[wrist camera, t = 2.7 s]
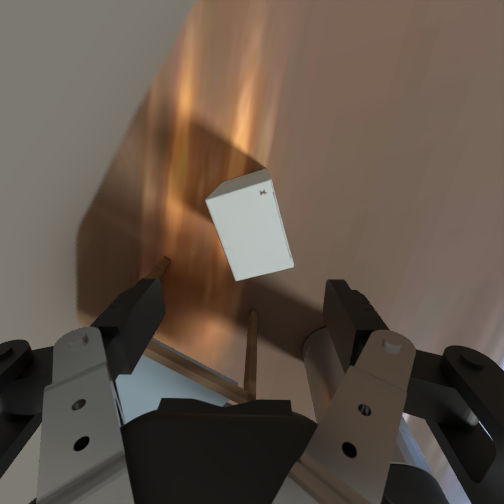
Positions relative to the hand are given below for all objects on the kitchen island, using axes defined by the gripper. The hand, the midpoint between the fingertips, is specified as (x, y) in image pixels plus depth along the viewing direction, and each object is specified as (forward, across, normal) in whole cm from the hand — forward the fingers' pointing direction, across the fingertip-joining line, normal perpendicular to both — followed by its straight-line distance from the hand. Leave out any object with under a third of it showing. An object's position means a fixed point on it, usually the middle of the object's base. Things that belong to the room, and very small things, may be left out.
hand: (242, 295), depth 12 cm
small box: (+20, 0, 0) cm, 20 cm away
